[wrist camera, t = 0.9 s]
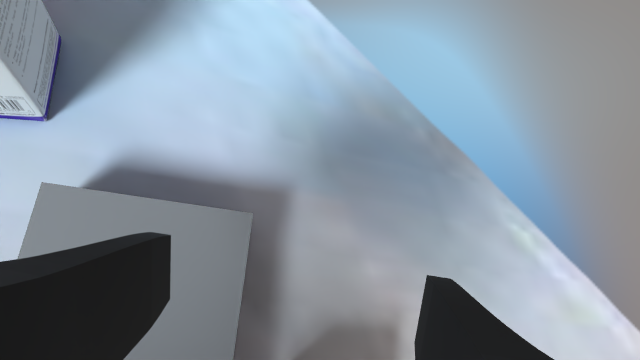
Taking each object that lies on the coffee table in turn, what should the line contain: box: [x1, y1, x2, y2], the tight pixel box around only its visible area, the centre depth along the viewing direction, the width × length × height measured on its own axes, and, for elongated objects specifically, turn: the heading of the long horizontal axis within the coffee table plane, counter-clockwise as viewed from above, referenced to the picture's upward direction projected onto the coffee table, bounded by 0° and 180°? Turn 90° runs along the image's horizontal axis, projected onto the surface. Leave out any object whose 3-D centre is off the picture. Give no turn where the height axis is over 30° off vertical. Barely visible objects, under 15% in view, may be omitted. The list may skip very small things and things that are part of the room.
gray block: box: [18, 182, 253, 360], centre depth 21 cm, size 10×10×4 cm
